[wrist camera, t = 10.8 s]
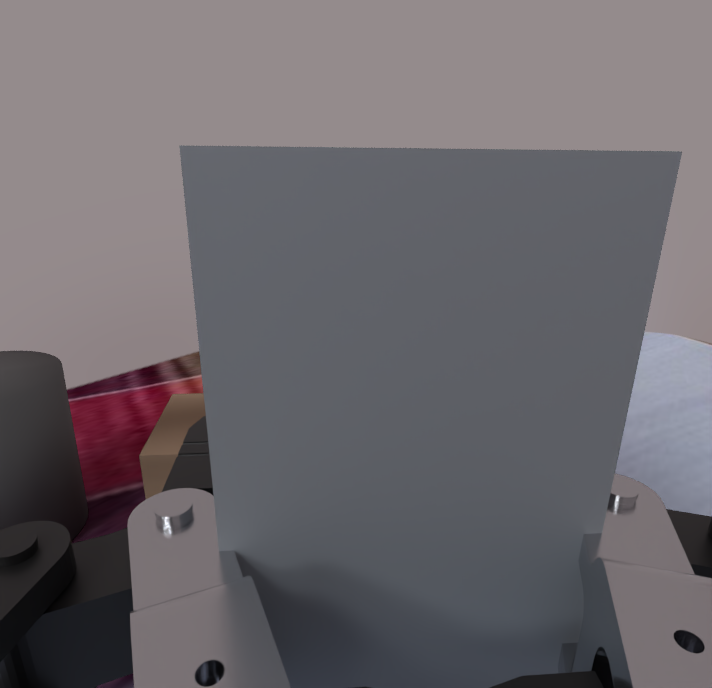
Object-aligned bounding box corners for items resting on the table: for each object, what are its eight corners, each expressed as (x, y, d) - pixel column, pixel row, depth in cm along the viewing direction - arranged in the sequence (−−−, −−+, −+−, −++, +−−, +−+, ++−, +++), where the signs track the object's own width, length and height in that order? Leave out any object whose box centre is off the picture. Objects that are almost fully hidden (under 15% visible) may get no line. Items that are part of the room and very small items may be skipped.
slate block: (526, 893, 10) (681, 151, 5) (254, 921, 10) (180, 145, 5) (456, 654, 15) (509, 149, 10) (273, 666, 14) (243, 147, 10)
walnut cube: (284, 559, 21) (280, 450, 19) (156, 565, 21) (139, 455, 19) (289, 484, 26) (285, 391, 24) (184, 488, 25) (172, 394, 24)
